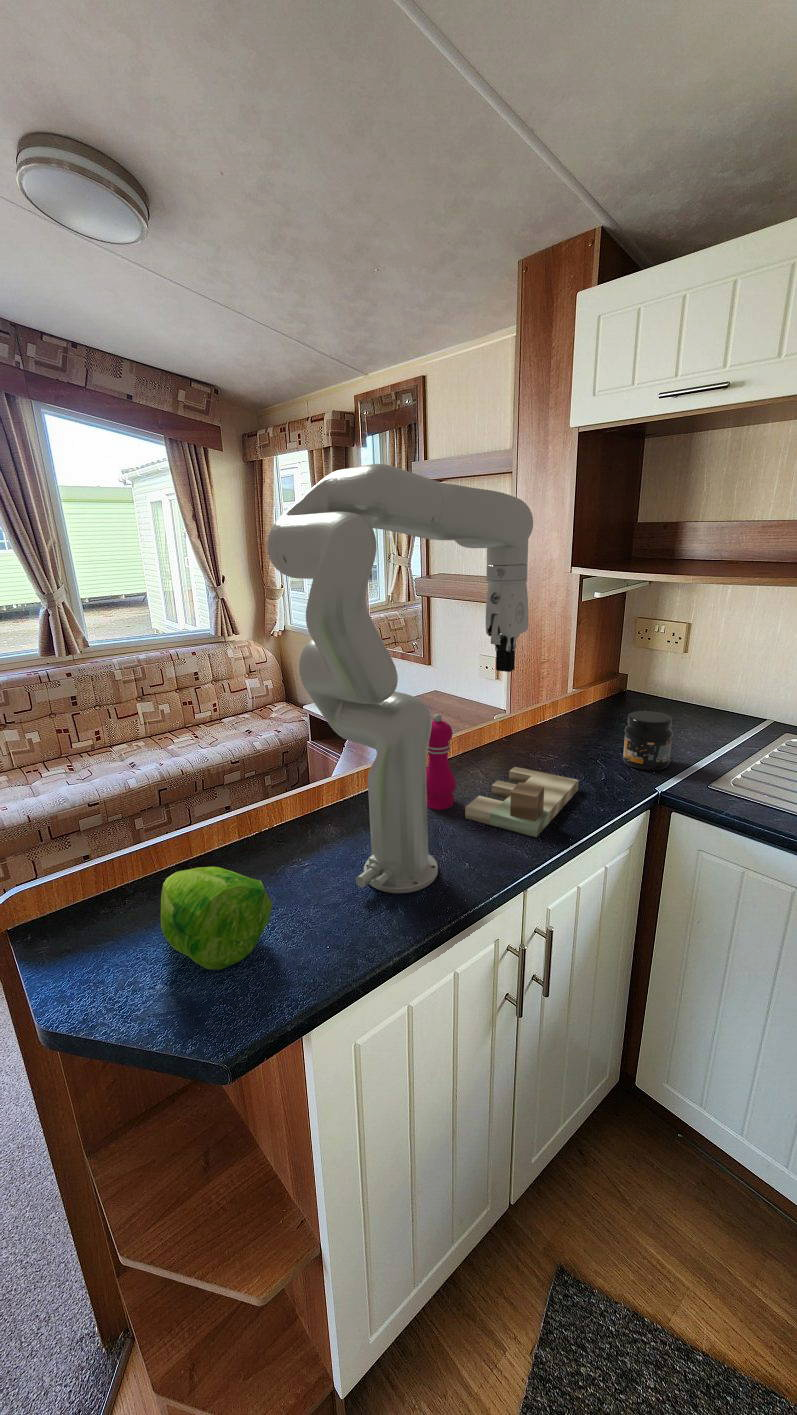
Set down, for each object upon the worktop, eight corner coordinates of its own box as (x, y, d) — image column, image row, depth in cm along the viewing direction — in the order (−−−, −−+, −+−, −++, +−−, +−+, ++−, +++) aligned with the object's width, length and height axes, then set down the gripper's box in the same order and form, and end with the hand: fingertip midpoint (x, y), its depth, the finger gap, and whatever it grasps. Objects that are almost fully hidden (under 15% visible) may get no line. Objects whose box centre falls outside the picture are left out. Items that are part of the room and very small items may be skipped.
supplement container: (613, 759, 142) (616, 713, 139) (649, 753, 145) (653, 708, 141) (641, 774, 132) (645, 725, 129) (679, 768, 135) (684, 720, 132)
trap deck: (536, 837, 107) (536, 825, 106) (465, 818, 115) (465, 806, 114) (577, 790, 126) (578, 779, 125) (514, 776, 134) (514, 766, 133)
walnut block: (535, 821, 108) (536, 796, 106) (510, 815, 110) (510, 791, 109) (543, 810, 112) (544, 786, 110) (518, 805, 114) (519, 782, 113)
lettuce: (219, 893, 93) (209, 828, 90) (293, 949, 80) (285, 875, 76) (133, 936, 84) (119, 865, 80) (201, 1008, 70) (187, 926, 67)
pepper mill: (454, 812, 118) (453, 720, 112) (419, 810, 119) (417, 719, 114) (457, 796, 125) (457, 709, 119) (424, 795, 126) (422, 708, 120)
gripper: (508, 577, 99) (506, 680, 104) (541, 571, 110) (537, 664, 115) (470, 577, 103) (470, 676, 108) (505, 571, 114) (503, 661, 120)
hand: (505, 670), depth 112 cm, fingers closed
